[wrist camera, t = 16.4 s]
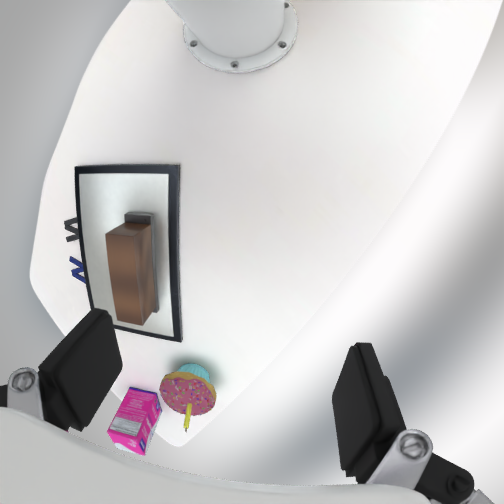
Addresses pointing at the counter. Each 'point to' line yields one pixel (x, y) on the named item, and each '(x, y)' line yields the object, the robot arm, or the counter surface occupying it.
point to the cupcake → (188, 391)
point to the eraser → (133, 268)
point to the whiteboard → (112, 215)
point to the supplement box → (135, 421)
